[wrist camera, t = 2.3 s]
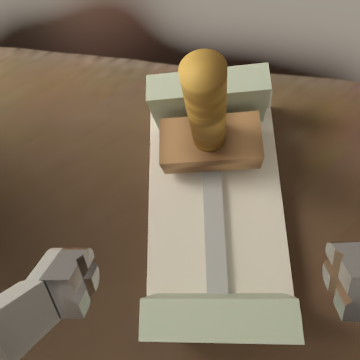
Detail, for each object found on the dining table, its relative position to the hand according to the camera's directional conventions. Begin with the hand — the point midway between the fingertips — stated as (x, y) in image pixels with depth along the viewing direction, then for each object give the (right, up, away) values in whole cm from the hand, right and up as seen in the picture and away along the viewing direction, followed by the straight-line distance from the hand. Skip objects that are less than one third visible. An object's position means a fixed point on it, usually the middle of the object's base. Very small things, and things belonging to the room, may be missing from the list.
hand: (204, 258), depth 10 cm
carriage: (+2, +6, +21) cm, 22 cm away
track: (+3, 0, +22) cm, 22 cm away
